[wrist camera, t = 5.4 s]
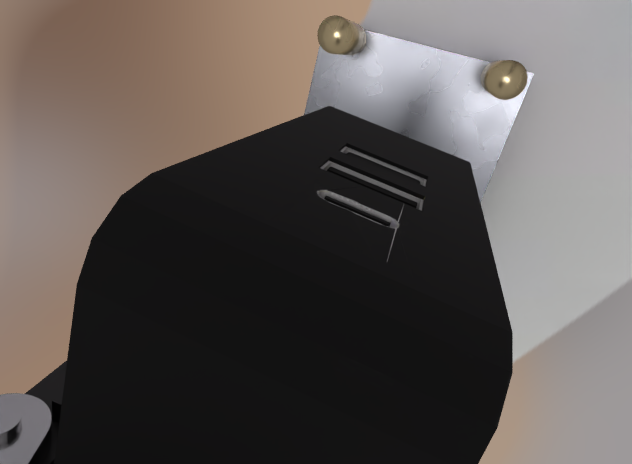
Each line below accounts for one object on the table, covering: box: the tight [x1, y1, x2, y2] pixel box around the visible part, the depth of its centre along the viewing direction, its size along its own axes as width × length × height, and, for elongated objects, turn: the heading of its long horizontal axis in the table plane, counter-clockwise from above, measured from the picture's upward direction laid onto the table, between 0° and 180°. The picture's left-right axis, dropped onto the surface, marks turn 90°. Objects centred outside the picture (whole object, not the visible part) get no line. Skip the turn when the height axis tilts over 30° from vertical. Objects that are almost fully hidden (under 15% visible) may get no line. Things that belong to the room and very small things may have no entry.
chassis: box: [304, 16, 534, 203], centre depth 25 cm, size 15×11×5 cm
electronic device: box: [54, 106, 512, 464], centre depth 10 cm, size 4×10×10 cm, turn 160°
